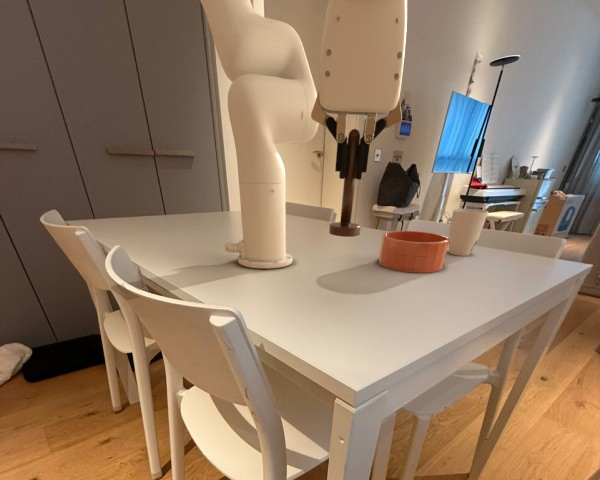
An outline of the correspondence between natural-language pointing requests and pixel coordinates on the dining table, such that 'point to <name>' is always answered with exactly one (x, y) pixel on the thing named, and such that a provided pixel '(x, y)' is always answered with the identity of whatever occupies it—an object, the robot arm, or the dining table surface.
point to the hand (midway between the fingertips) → (349, 177)
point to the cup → (465, 230)
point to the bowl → (413, 251)
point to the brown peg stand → (348, 191)
